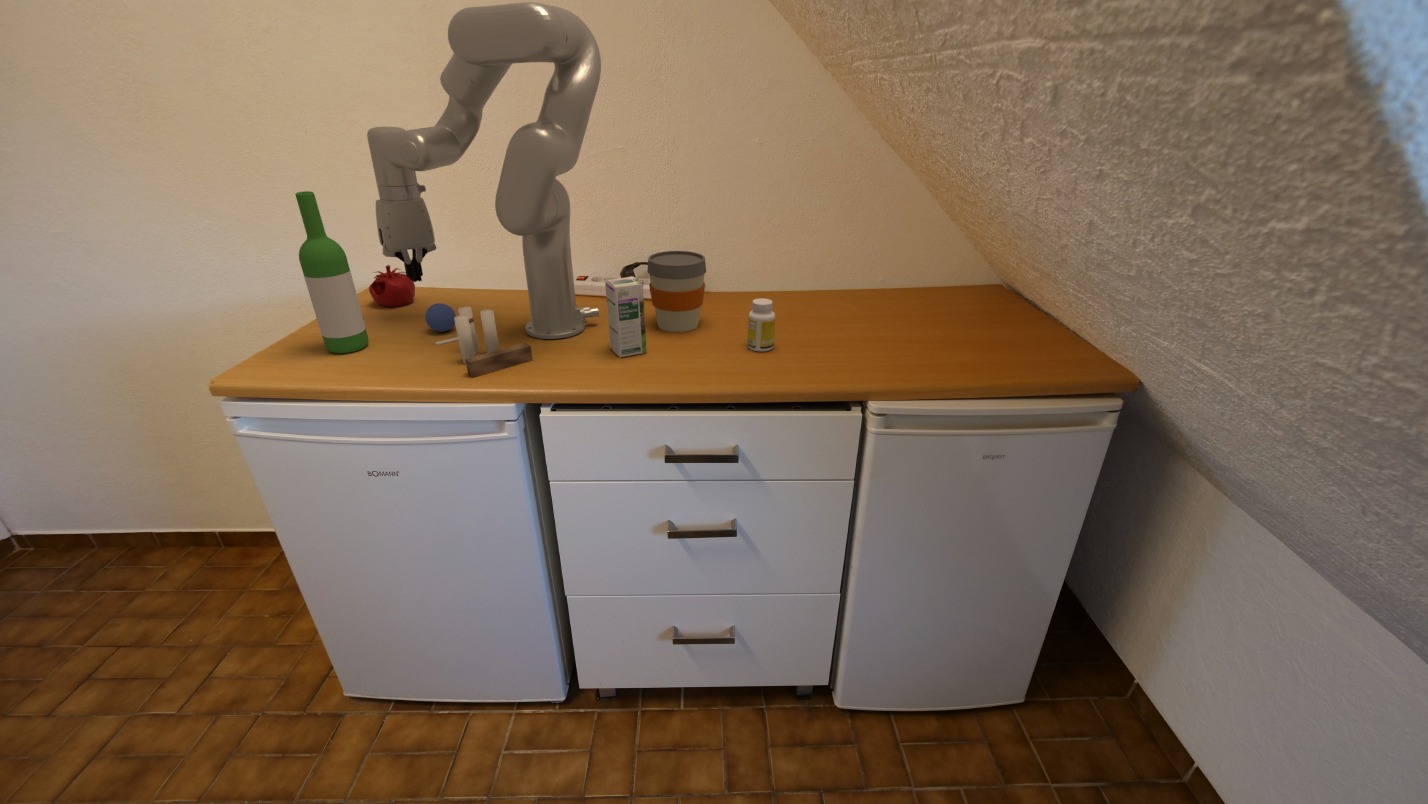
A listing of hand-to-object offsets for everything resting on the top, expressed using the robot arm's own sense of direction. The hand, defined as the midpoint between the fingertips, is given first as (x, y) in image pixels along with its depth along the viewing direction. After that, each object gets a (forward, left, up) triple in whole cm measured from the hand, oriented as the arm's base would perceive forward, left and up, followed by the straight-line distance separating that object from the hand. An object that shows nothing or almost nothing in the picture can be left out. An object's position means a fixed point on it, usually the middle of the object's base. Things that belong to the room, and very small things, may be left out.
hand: (415, 280), depth 136 cm
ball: (-3, +10, -6) cm, 12 cm away
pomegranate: (+5, -15, -9) cm, 18 cm away
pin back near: (-10, +28, -9) cm, 31 cm away
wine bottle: (+15, +11, -9) cm, 21 cm away
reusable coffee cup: (-50, +28, -9) cm, 58 cm away
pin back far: (-6, +29, -9) cm, 31 cm away
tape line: (-5, +16, -9) cm, 19 cm away
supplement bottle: (-60, +47, -9) cm, 77 cm away
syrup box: (-35, +37, -9) cm, 52 cm away
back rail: (-11, +34, -9) cm, 37 cm away
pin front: (-7, +24, -9) cm, 27 cm away
